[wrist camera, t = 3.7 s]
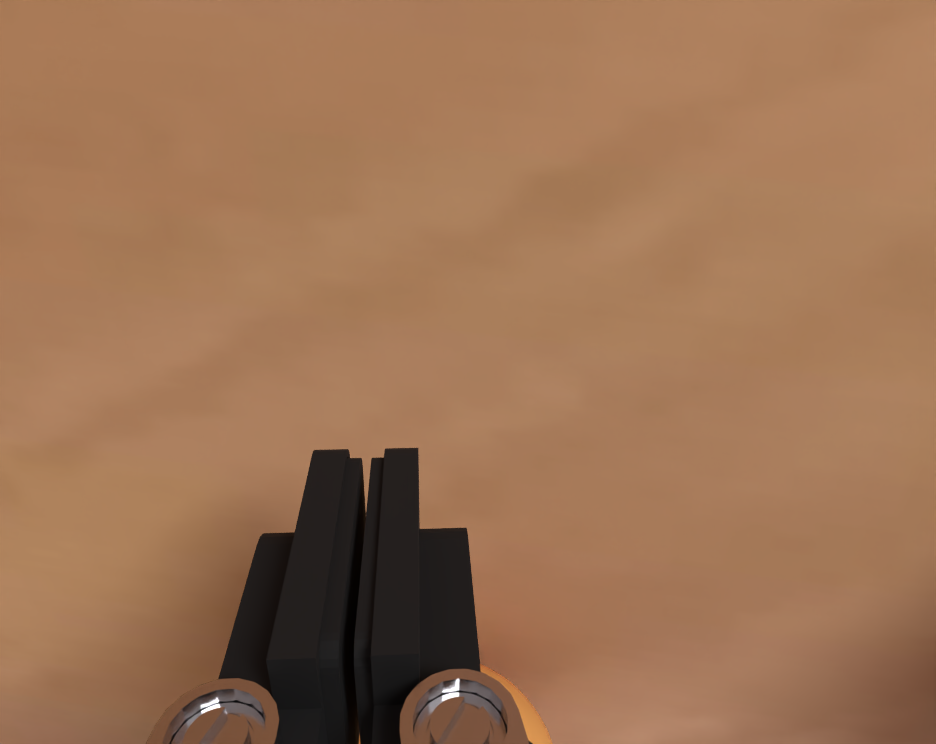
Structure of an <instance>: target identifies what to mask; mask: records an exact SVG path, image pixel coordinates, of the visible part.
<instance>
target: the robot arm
mask: <svg viewBox="0 0 936 744" xmlns="http://www.w3.org/2000/svg"><path fill="white" fill-rule="evenodd" d="M359 734H360V744H533V743H531V742H530V741H529V740H528V738H527V734H526V731H525V728H524V725H523V721H522V718H521V715H520V712H519V709H518V707H517V705H516V703H515V701H514V699H513V697H512V695H511V693H510V692H509V691H508V690H507V689H506V688H505V687H504V686H503V685H502V684H501V683H500V682H499V681H497V680H496V679H494V678H492V677H490V676H488V675H487V674H485V673H482V672H481V669H480V659H479V648H478V638H477V627H476V617H475V606H474V596H473V585H472V574H471V564H470V553H469V543H468V534H467V528H442V529H420V528H419V465H418V448H392V449H385V454H384V458H372V460H371V470H370V480H369V491H368V501H367V512H365V496H364V480H363V465H362V459H361V458H350V454H349V450H348V449H342V450H314V451H313V454H312V458H311V463H310V467H309V472H308V476H307V480H306V485H305V489H304V494H303V498H302V503H301V507H300V512H299V516H298V520H297V525H296V529H295V533H264V534H262V535H261V536H260V539H259V541H258V544H257V547H256V550H255V554H254V557H253V561H252V564H251V568H250V571H249V575H248V578H247V582H246V585H245V589H244V592H243V596H242V599H241V603H240V606H239V610H238V613H237V616H236V620H235V623H234V627H233V630H232V634H231V637H230V641H229V644H228V648H227V651H226V655H225V658H224V662H223V665H222V669H221V672H220V676H219V679H218V680H215V681H212V682H208V683H205V684H202V685H199V686H198V687H196V688H194V689H192V690H191V691H189V692H187V693H185V694H183V695H182V696H181V697H180V698H179V699H178V700H176V701H175V702H174V703H173V704H172V705H171V706H170V707H169V708H167V709H166V711H165V712H164V714H163V715H162V717H161V718H160V719H159V721H158V722H157V724H156V725H155V727H154V729H153V731H152V733H151V735H150V736H149V738H148V740H147V742H146V744H359Z"/></svg>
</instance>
